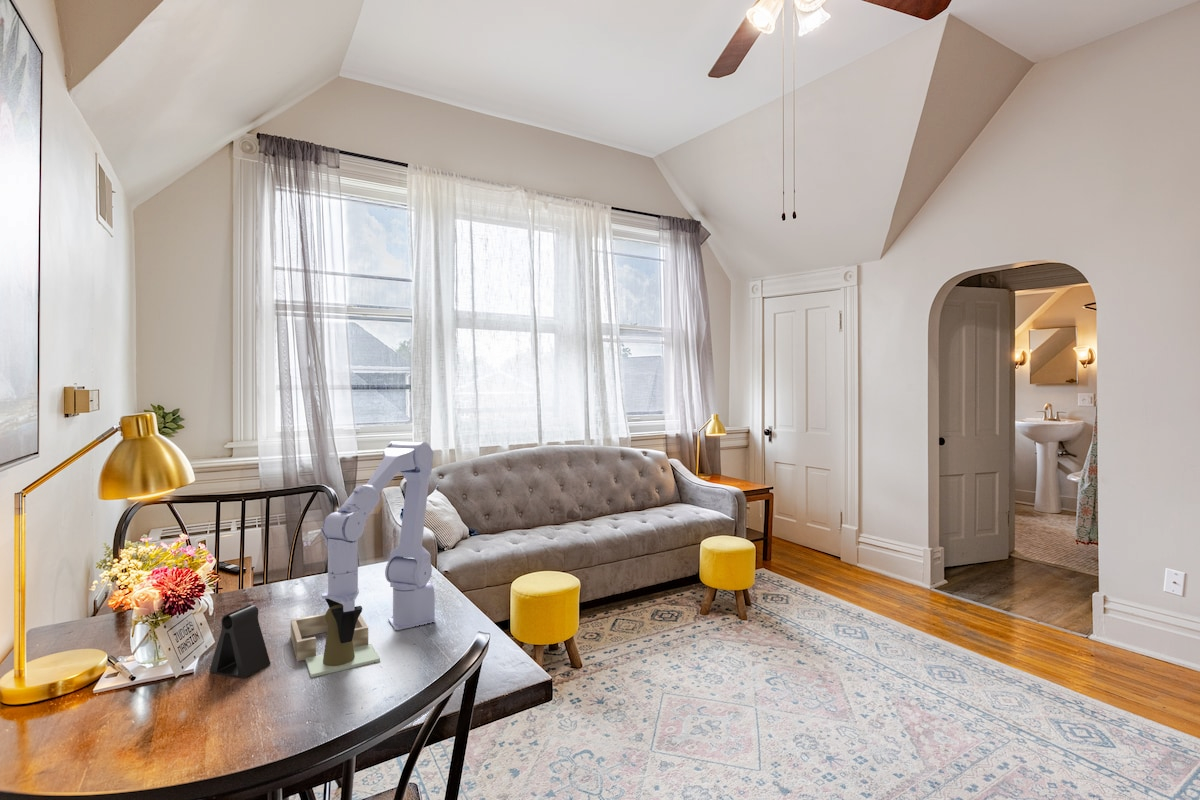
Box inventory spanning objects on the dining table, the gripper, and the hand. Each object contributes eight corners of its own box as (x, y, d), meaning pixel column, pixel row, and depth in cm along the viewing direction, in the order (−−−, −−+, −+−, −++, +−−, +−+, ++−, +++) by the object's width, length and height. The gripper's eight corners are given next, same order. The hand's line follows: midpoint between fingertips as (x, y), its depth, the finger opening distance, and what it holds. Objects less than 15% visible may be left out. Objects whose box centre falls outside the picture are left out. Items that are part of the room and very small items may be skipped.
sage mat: (371, 646, 128) (371, 643, 128) (380, 661, 121) (380, 658, 121) (305, 660, 121) (305, 658, 121) (310, 677, 114) (310, 674, 114)
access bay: (356, 624, 140) (356, 607, 140) (368, 645, 128) (368, 627, 128) (290, 637, 132) (290, 620, 132) (297, 661, 120) (297, 642, 120)
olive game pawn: (342, 667, 116) (342, 613, 116) (316, 664, 118) (316, 610, 118) (360, 654, 122) (360, 602, 122) (335, 651, 124) (335, 600, 124)
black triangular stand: (270, 665, 119) (270, 606, 119) (245, 678, 113) (245, 617, 113) (235, 659, 121) (235, 602, 121) (209, 673, 115) (209, 613, 115)
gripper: (316, 564, 124) (316, 627, 124) (327, 583, 112) (327, 652, 112) (352, 559, 128) (352, 620, 128) (365, 576, 116) (365, 644, 116)
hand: (342, 635), depth 121 cm, fingers open, 7 cm apart
